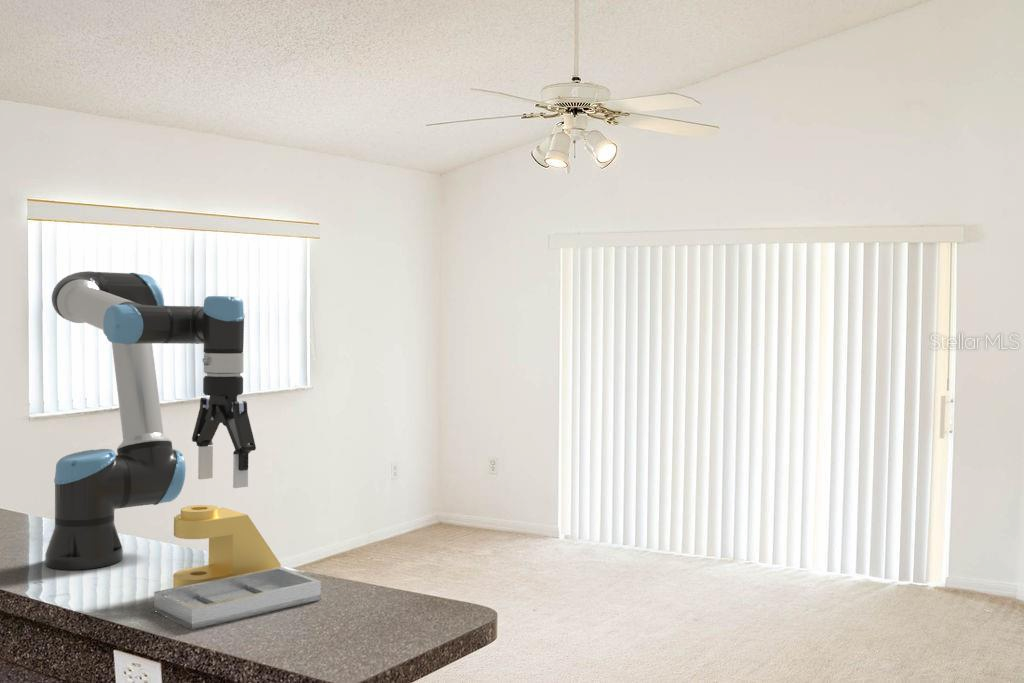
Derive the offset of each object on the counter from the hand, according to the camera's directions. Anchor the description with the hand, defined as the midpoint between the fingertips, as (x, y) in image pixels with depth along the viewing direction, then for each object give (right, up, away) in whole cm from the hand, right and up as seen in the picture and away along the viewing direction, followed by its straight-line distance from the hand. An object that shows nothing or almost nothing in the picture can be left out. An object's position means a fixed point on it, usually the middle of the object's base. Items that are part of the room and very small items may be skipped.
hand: (222, 483), depth 188 cm
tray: (+7, -21, -12) cm, 25 cm away
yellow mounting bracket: (0, -21, +1) cm, 21 cm away
